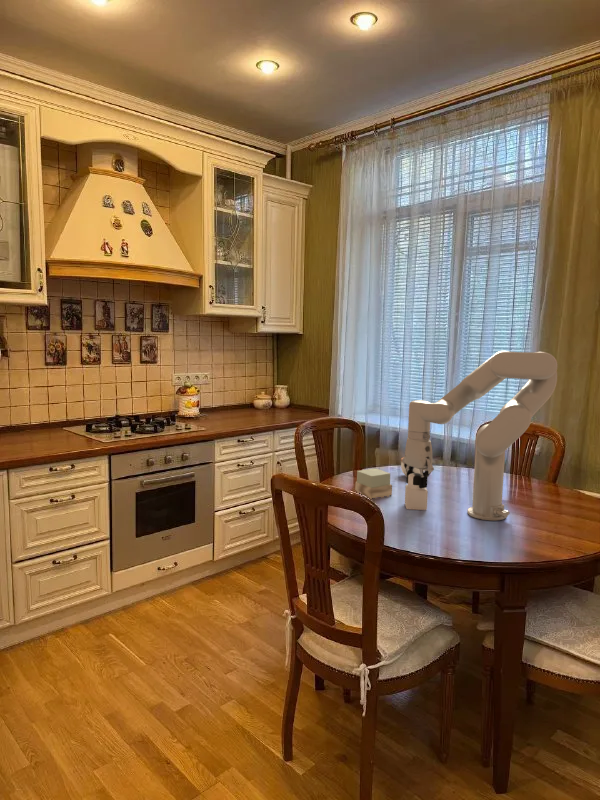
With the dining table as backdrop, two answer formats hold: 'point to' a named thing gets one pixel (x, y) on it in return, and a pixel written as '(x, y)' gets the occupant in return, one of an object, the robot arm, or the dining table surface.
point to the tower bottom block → (373, 490)
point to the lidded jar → (405, 469)
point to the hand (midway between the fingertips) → (416, 484)
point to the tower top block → (373, 477)
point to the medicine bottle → (415, 493)
